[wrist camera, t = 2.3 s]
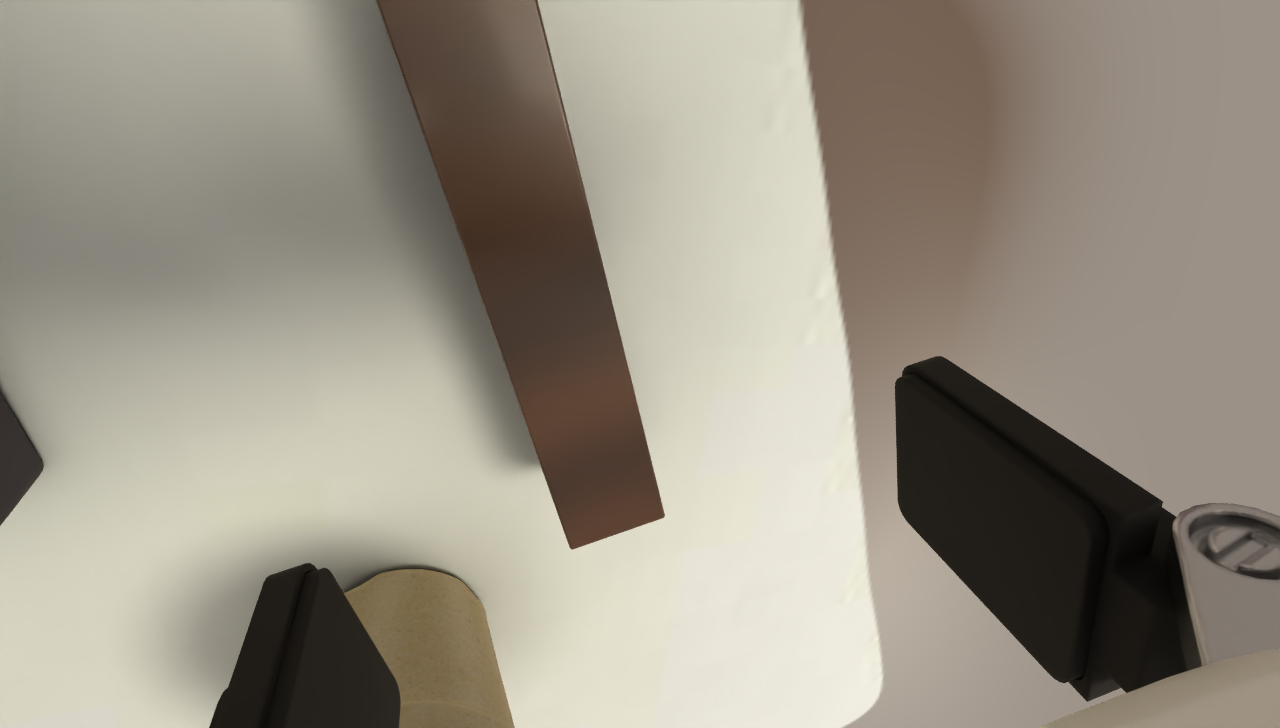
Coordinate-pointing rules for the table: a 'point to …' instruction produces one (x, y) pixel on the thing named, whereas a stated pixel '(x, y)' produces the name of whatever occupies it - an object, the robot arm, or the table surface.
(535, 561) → the table surface
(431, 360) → the table surface
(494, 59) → the brown wooden block
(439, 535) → the table surface
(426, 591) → the flower pot
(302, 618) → the robot arm
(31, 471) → the calculator
